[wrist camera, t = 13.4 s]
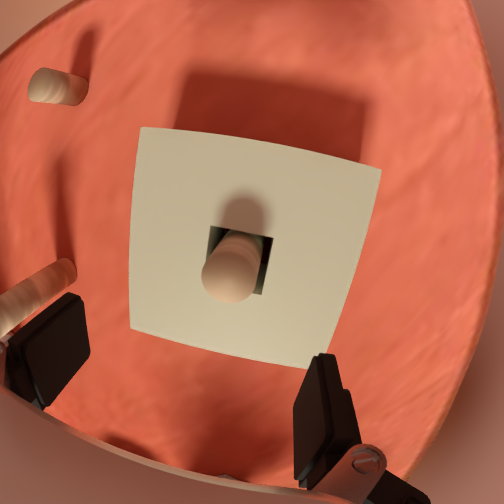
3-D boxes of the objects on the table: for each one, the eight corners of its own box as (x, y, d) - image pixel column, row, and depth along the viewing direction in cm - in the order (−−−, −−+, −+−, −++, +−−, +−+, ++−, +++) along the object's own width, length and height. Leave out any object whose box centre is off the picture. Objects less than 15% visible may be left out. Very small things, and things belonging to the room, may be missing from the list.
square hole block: (313, 330, 27) (318, 370, 22) (156, 296, 28) (130, 328, 22) (358, 166, 22) (382, 169, 17) (172, 132, 23) (140, 126, 17)
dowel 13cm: (78, 285, 29) (4, 345, 17) (59, 279, 29) (-14, 332, 17) (76, 260, 28) (-6, 314, 16) (56, 254, 28) (-23, 302, 16)
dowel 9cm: (261, 257, 26) (250, 308, 17) (226, 250, 26) (198, 296, 17) (268, 222, 25) (260, 258, 16) (231, 215, 25) (204, 247, 16)
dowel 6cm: (85, 105, 22) (45, 99, 17) (63, 106, 23) (25, 103, 17) (91, 75, 21) (53, 64, 16) (69, 78, 21) (32, 70, 16)
